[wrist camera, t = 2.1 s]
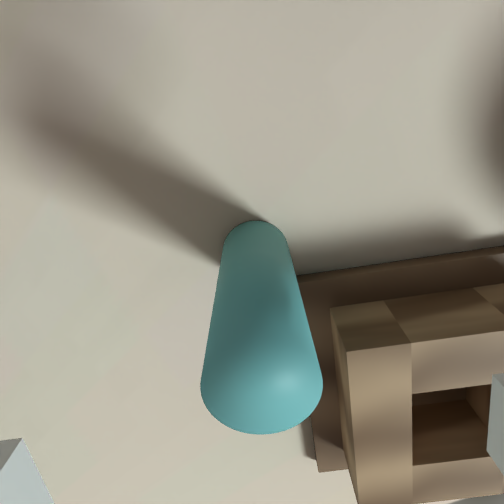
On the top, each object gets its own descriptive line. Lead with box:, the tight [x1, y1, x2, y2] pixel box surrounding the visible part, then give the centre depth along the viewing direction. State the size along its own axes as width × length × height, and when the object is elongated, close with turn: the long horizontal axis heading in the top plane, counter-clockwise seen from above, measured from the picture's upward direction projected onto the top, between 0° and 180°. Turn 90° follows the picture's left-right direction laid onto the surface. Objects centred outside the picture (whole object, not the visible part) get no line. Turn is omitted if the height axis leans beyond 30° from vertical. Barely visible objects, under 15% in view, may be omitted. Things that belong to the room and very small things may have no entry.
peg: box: [200, 221, 323, 434], centre depth 18 cm, size 4×4×12 cm
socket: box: [296, 246, 504, 504], centre depth 25 cm, size 16×16×6 cm
